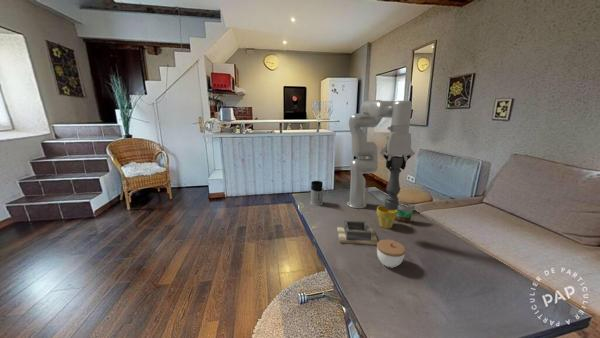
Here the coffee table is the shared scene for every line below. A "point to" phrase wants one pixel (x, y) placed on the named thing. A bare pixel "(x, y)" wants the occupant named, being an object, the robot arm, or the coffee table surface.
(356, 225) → the socket board
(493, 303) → the coffee table surface
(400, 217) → the food container
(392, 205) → the candle holder
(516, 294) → the coffee table surface
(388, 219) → the plant pot
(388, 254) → the lidded jar
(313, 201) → the glass holder
